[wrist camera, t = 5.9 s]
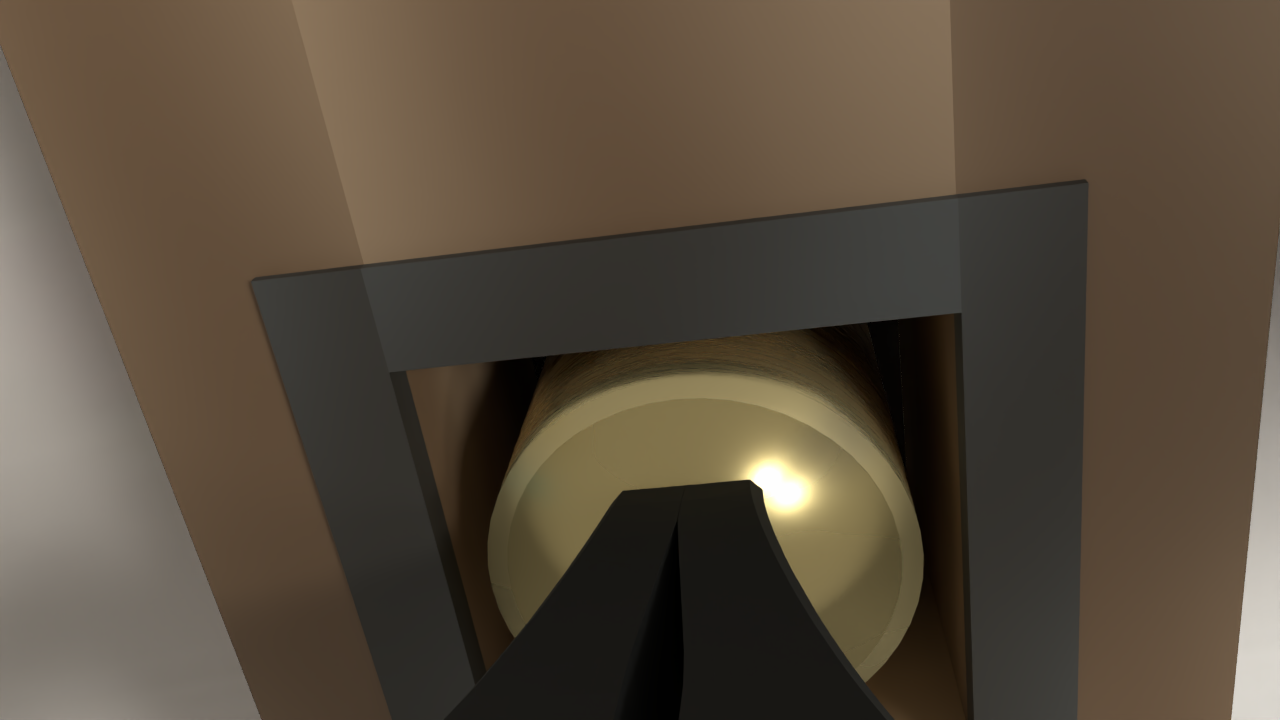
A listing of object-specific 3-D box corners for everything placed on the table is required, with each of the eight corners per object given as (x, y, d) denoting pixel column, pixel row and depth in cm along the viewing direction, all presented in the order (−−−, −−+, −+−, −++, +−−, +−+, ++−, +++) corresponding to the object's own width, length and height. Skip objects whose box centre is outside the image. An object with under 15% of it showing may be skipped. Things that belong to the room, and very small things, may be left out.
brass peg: (861, 194, 14) (913, 356, 10) (881, 485, 15) (932, 725, 11) (526, 234, 14) (443, 402, 10) (584, 511, 16) (531, 747, 12)
